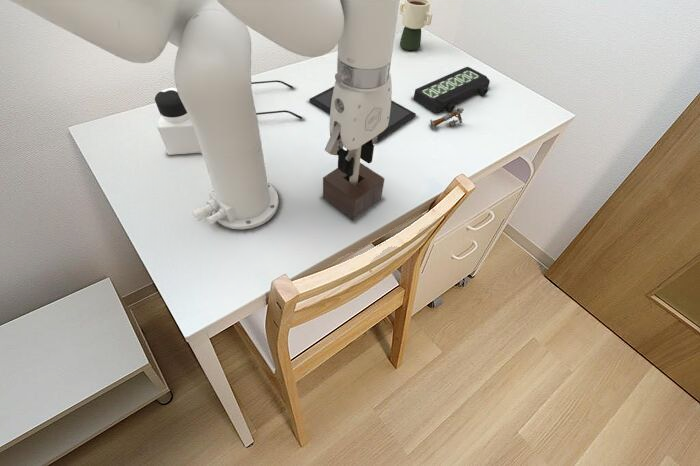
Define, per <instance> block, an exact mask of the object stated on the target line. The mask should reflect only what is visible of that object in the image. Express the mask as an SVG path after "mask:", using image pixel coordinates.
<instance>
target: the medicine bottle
mask: <svg viewBox="0 0 700 466" xmlns="http://www.w3.org/2000/svg"><path fill="white" fill-rule="evenodd" d="M154 102H155V105H156V107H157V110H158V112H159V119H158V122H157V127H156V128H157V131H158V133H159V135H160V138H161V140H162V142H163V145H164V148H165V150H166V152H167V154H168V155H169V156H171V155H188V154H202V152H201V149H200V146H199V143H198V140H197V137H196V134H195V131H194V128H193V125H192V122H191V120H190V117H189V115H188V113H187V111H186V109H185V107H184V105H183V103H182V101H181V99H180V97H179V95H178V92H177V89H176V87H169V88H165V89H162V90H160V91H158V92H157V94H156V95H155V97H154Z"/></svg>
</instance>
